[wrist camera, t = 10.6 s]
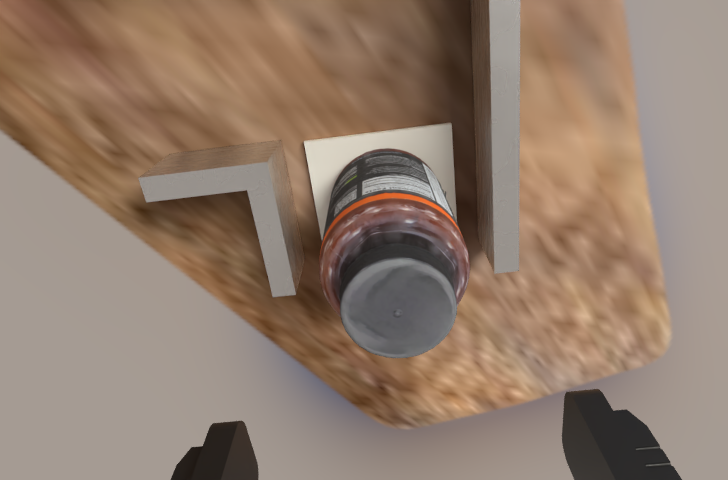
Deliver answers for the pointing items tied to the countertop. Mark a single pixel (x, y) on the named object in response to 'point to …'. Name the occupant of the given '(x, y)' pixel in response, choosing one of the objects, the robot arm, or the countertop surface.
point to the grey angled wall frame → (271, 181)
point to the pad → (340, 151)
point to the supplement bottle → (392, 254)
